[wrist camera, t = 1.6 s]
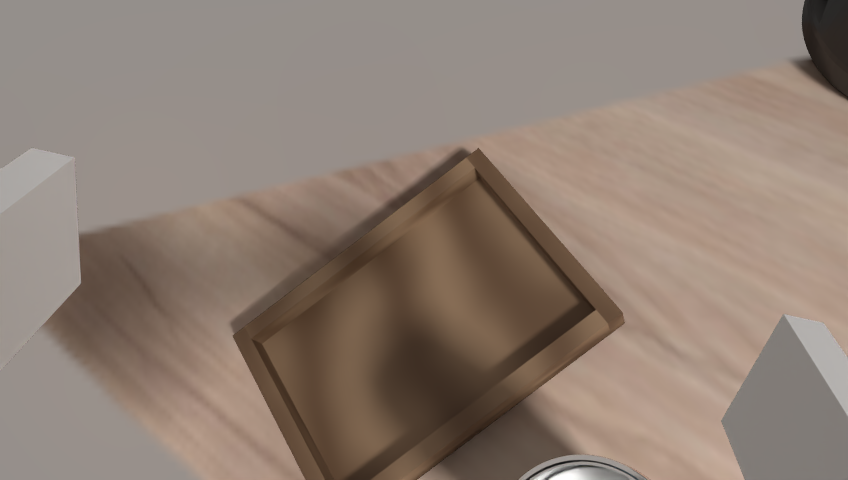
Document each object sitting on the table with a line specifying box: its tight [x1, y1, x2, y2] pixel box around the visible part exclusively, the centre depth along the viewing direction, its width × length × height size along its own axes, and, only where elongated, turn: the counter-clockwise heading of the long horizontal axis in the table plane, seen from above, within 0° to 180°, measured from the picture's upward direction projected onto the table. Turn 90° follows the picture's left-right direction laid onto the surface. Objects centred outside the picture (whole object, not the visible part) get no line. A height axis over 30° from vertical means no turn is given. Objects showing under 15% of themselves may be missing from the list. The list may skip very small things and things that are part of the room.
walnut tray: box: [233, 148, 625, 480], centre depth 43 cm, size 20×14×2 cm
